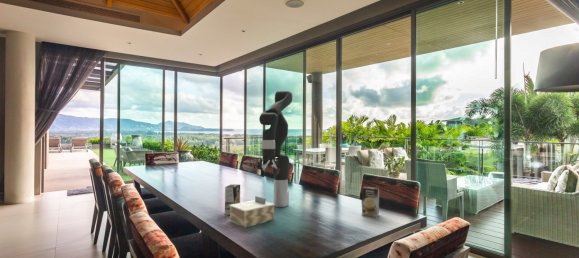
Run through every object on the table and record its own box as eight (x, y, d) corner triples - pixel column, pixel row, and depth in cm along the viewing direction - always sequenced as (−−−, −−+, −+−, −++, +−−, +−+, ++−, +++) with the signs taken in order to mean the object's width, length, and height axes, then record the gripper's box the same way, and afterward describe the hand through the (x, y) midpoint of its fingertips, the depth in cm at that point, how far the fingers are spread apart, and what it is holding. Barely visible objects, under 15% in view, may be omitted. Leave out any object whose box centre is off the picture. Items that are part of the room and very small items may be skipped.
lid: (258, 200, 173) (258, 194, 173) (274, 204, 162) (274, 198, 162) (229, 206, 159) (229, 199, 159) (245, 211, 149) (245, 204, 149)
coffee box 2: (361, 215, 172) (361, 187, 172) (363, 212, 178) (363, 185, 178) (377, 217, 168) (377, 189, 168) (379, 214, 174) (379, 187, 174)
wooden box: (258, 214, 172) (258, 200, 172) (273, 219, 162) (273, 205, 162) (230, 221, 159) (230, 206, 159) (245, 227, 149) (245, 211, 149)
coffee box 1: (234, 215, 170) (235, 187, 170) (224, 214, 172) (224, 186, 172) (240, 210, 179) (240, 184, 179) (230, 210, 181) (230, 183, 181)
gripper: (274, 146, 176) (274, 173, 177) (254, 148, 167) (254, 176, 167) (282, 147, 171) (282, 175, 171) (262, 148, 161) (262, 178, 161)
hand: (268, 176), depth 169 cm, fingers open, 8 cm apart
